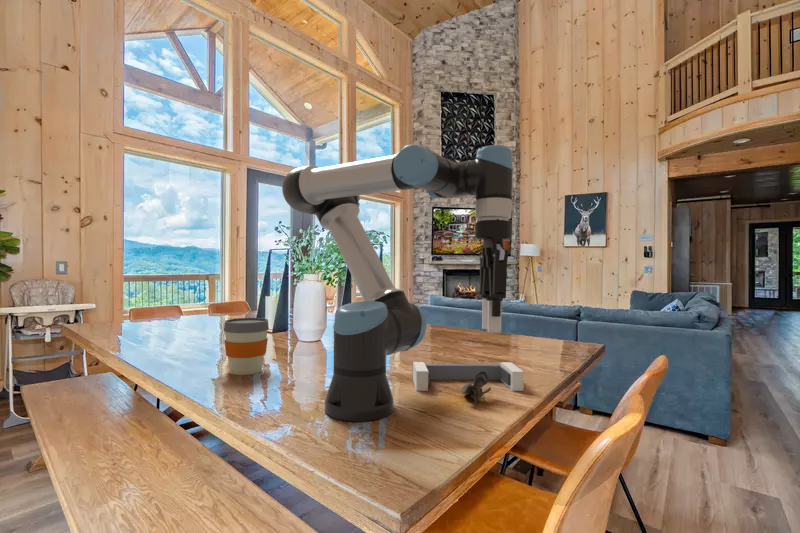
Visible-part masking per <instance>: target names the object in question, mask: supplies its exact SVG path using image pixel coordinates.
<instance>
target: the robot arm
mask: <svg viewBox="0 0 800 533" xmlns="http://www.w3.org/2000/svg"><path fill="white" fill-rule="evenodd" d="M513 167H514V166H513V152H512V149H510V148H509V147H508V146H505V145H500V144H490V145H485V146H483V147H480V148H478V149H477V152H476V155H475V159H472V160H466V161H458V162H457V161H456V162H455V161H452V160H451V159H448V158H446V157H444V156H442V155H440V154H438V153H436V152H435V151H432V150H431V149H429V148H427V147H424V146H421V145H418V144H408V145H405V146H403V147H402V148H401V149H400V150H399V151H398V152H397V153H395V154H391V155H386V156H379V157H374V158H368V159H363V160H357V161H352V162H346V163H341V164H335V165H330V166H324V167H319V166H317V165H314V164H313V165H311V164H310V165H306V166H305V165H304V166H301V167H296V168H294V169H292V170H290V171H289V172H288V173H287V174H286V176H284V178H283V180H282V185H281V186H282V187H281V190H282V191H281V192H282V196H283V198H284V200H285V202H286V203H287V204H288V205H289V206H290V208H292V209H293V210H295V211H298V212H300V213H303V214H309V215H315V216H316V218H317V220H318V222H319V224H320V226H321V228H322V229H325V230H326V231H329V232H330V234H331V236H332V238H333V241H334V242H335V244H336V246H337V249H338V250H339V252H340V254H341V256H342V258H343V260H344V263H345V265H346V266H347V269H348V270H349V273H350V275H351V277H352V279H353V281H354V283H355V285H356V287H357V289H358V291H359V293H360V296H361V297H362V300H363V301H355V302H349V303H346V304H343V305H341V306H340V307H337V309H336V310H335V313H334V322H333V373H332V374H333V375H332V378H331V382H330V384H329V387H328V390H327V392H326V396H325V399H324V412H325V414H326V415H328V416H329V417H331V418H332V419H336V420H340V421H344V422H345V421H347V422H367V421H375V420H379V419H383V418H385V417H387V416H389V415H390V414H392V412H393V411H394V397H393V396H394V395H393V393H392V390H391V387H390V383H389V379H388V377H387V356H389V355H394V354H397V353H400V352H406V351H409V350H410V349H412V348H414V347H416V346H418V345H419V344H420V343H421V342H422V341H423V339H424V337H425V334H426V330H427V325H428V324H427V317H426V315H425V312H424V311H423V310H422V308H421V307H420V306H418V305H417V304H415V303H413V302H410V301H409V300H408V298H407V296H406V293H405V292H404V291H403V289H399V288H396V287H395V286H394V284H393V282H392V280H391V278H390V276H389V274H388V273H387V271H386V269H385V267H384V265H383V263H382V261H381V259H380V257H379V255H378V253H377V251H376V250H375V247H374V246H373V243H372V242H371V239H370V238H369V235H368V234H367V232H366V230H365V229H364V226H363V224H362V222H361V221H360V219H359V217H358V216H359V215H360V205H361V204H360V200H361V196H363V195H373V194H380V193H387V192H398V191H405V190H406V191H408V190H415V189H423V190H425V191H426V193H427V194H428V197H430V198H432V199H448V198H457V197H465V196H475V207H474V208H475V209H474V210H475V216H474V219H476V220H477V221H476V222H475V229H474V232H475V234H474V237H475V239H477V240H483V247H482V248H481V251H479V252H478V258H479V295H480V296H481V298H482V300H481V301H482V302H481V303H482V306H481V308H482V309H481V310H482V312H481V313H482V314H481V316H482V317H481V329H482V330H487V333H502V319H503V318H502V317H503V316H502V313H503V312H502V311H503V310H502V309H503V307H502V306H503V301H504V299H506V298H507V281H508V280H507V276H508V274H507V273H508V257H509V249H505V247H504V241H505V240H510V239H511V238H512V222H511V221H510V220H511V219H512V212H513V210H514V208H515V206H514V205H512V202H513V201H512V200H513V196H512V195H513V176H514V175H513V173H514V172H513V171H514V168H513Z"/></svg>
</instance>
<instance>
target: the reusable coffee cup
mask: <svg viewBox="0 0 800 533" xmlns="http://www.w3.org/2000/svg"><path fill="white" fill-rule="evenodd" d="M223 326H224V327H223V332H224V335H225V337H224V338H225V339H224V347H225V349H224V350H225V357H227V360H228V361H227V362H228V369H229V370H228V371H229V373H230V374H232V375H235V376H236V375H237V376H245V375H247V376H248V375H255V374H259V373H260V372H262V370H263V365H264V358H265V357H264V356H265V355H266V354H267V345H268V340H269V339H268V337H267V336H268V331H269V330H270V328H269V319H268V318H263V317H239V318H238V317H236V318H230V319H226V320H224V324H223Z"/></svg>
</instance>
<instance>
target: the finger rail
mask: <svg viewBox="0 0 800 533" xmlns="http://www.w3.org/2000/svg"><path fill="white" fill-rule="evenodd" d="M481 371H484V372H486V374H487V377H488V380H487V381H501V382H502V383H503V384H504V385H505V386H506V387H507V388H508V389H509V390H511V391H512V392H523V391H524V383H525V382H524V381H525V380H524V377H525V376H524V374H525V373H524V372H525V371H523V369H521V368H520V367H518V366H517V365H515V364H514V363H512V362H505V361H502V362H500V363H425V361H413V363H412V372H411V373H412V374H411V376H412V377H411V378H412V381H413V382H412V383H413V385H414V387H415V391H416V392H427V391H429V386H430V383H431V382H430V381H431V380H432V381H434V380H435V381H442V380H443V381H445V380H446V381H454V380H455V381H462V380H463V381H474V379H475V376H476V375H477V374H479V373H480V372H481Z"/></svg>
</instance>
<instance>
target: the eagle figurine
mask: <svg viewBox="0 0 800 533" xmlns="http://www.w3.org/2000/svg"><path fill="white" fill-rule="evenodd" d="M488 381H489V380H488V377H487V374H486V372H484V371H481V372H480V373H479V374H477V375H476V376H475V379H474V380H473V384H472V382H468V383H466V384H464V385H463V386H462V388H461V392H462V394H463V395H470V396H469V397H470V398H472V399H474V400H473V401H474V403H473V406H476V405H477V403H479V401H480V399H481V400H483V401H484V402H486V399H485V398H486V397H485V396H484V395H486V394H487V393H490V390H491V389H492V387H489V388H488V389H486V390H484V391H483V387H485V386H486V385H487V384H488Z"/></svg>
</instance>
